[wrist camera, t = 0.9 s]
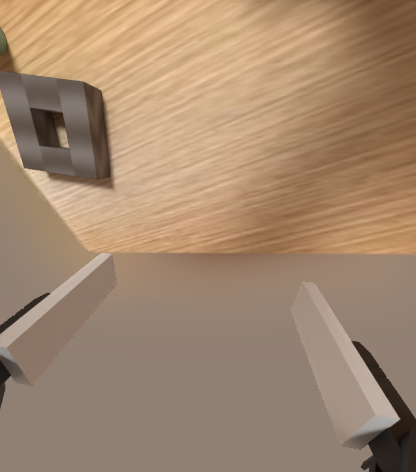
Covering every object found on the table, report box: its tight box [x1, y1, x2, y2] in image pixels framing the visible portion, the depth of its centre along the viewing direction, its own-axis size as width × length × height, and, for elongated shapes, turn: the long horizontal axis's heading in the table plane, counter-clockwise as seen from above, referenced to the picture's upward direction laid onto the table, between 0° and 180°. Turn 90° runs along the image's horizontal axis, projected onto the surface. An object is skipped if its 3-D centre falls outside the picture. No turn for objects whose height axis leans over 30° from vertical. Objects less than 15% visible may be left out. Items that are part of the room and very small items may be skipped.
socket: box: [0, 71, 110, 179], centre depth 32 cm, size 14×14×4 cm
